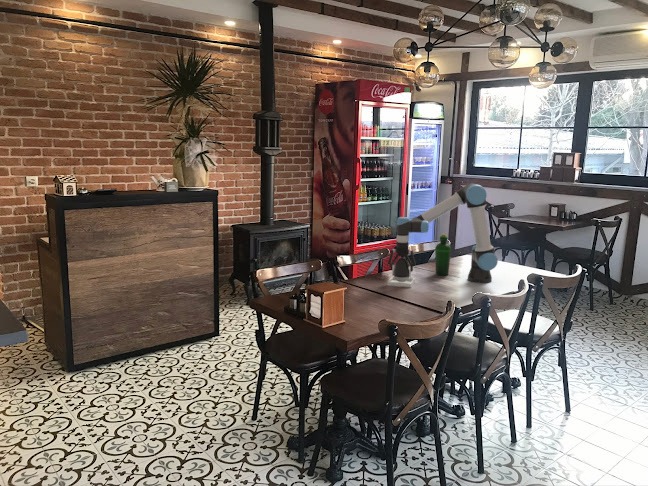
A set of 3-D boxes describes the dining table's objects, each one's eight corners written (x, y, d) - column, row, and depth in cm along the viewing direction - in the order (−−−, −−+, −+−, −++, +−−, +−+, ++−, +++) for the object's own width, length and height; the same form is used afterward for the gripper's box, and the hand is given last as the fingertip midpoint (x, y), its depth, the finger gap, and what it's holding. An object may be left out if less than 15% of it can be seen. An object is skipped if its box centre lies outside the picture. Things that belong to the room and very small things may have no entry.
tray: (414, 281, 340) (414, 278, 339) (411, 287, 326) (411, 283, 325) (391, 280, 344) (391, 276, 344) (387, 285, 330) (387, 281, 330)
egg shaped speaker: (408, 279, 339) (409, 256, 336) (409, 283, 329) (410, 259, 326) (393, 278, 340) (393, 255, 337) (393, 282, 330) (394, 259, 327)
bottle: (452, 273, 362) (454, 233, 357) (446, 277, 353) (448, 236, 348) (437, 271, 367) (439, 232, 362) (431, 274, 358) (433, 234, 353)
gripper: (421, 241, 330) (420, 275, 334) (385, 239, 337) (385, 273, 341) (419, 243, 323) (418, 278, 327) (383, 241, 330) (382, 275, 334)
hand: (401, 275), depth 334 cm, fingers closed on egg shaped speaker, 10 cm apart
